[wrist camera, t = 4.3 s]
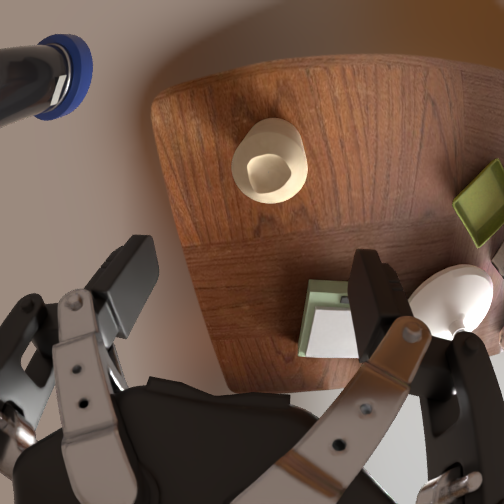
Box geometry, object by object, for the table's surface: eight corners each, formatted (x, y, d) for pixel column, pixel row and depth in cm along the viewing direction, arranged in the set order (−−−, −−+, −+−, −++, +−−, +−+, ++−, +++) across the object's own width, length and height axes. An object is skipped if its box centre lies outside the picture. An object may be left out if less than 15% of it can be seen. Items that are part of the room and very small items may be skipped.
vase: (441, 236, 31) (465, 270, 25) (499, 275, 32) (520, 305, 27) (374, 320, 39) (383, 359, 33) (440, 341, 41) (451, 374, 35)
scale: (297, 344, 44) (297, 359, 41) (308, 279, 36) (310, 295, 34) (371, 345, 42) (373, 360, 40) (396, 283, 35) (402, 298, 33)
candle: (279, 180, 30) (275, 225, 21) (235, 148, 28) (212, 182, 20) (313, 140, 27) (325, 170, 19) (268, 106, 26) (259, 119, 17)
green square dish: (511, 200, 26) (520, 207, 24) (471, 241, 30) (478, 250, 29) (488, 151, 24) (498, 156, 22) (443, 196, 28) (451, 204, 26)
